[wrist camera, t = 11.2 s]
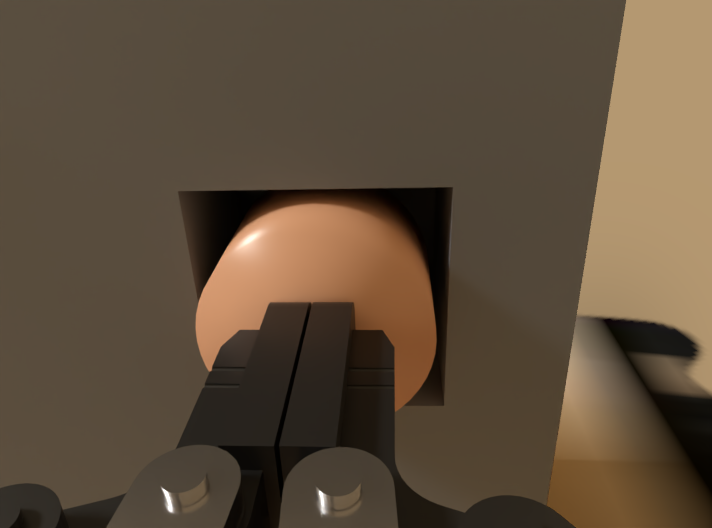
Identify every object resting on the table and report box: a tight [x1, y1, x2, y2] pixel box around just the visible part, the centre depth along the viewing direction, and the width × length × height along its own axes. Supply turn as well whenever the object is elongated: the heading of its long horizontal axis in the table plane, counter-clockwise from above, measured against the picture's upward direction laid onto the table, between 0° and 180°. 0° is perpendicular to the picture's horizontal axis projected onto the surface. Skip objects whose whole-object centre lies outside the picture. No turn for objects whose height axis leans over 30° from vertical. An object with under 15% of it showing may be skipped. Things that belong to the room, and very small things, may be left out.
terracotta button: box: [196, 188, 437, 412], centre depth 14 cm, size 6×4×4 cm
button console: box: [0, 0, 626, 513], centre depth 15 cm, size 7×20×22 cm, turn 87°
